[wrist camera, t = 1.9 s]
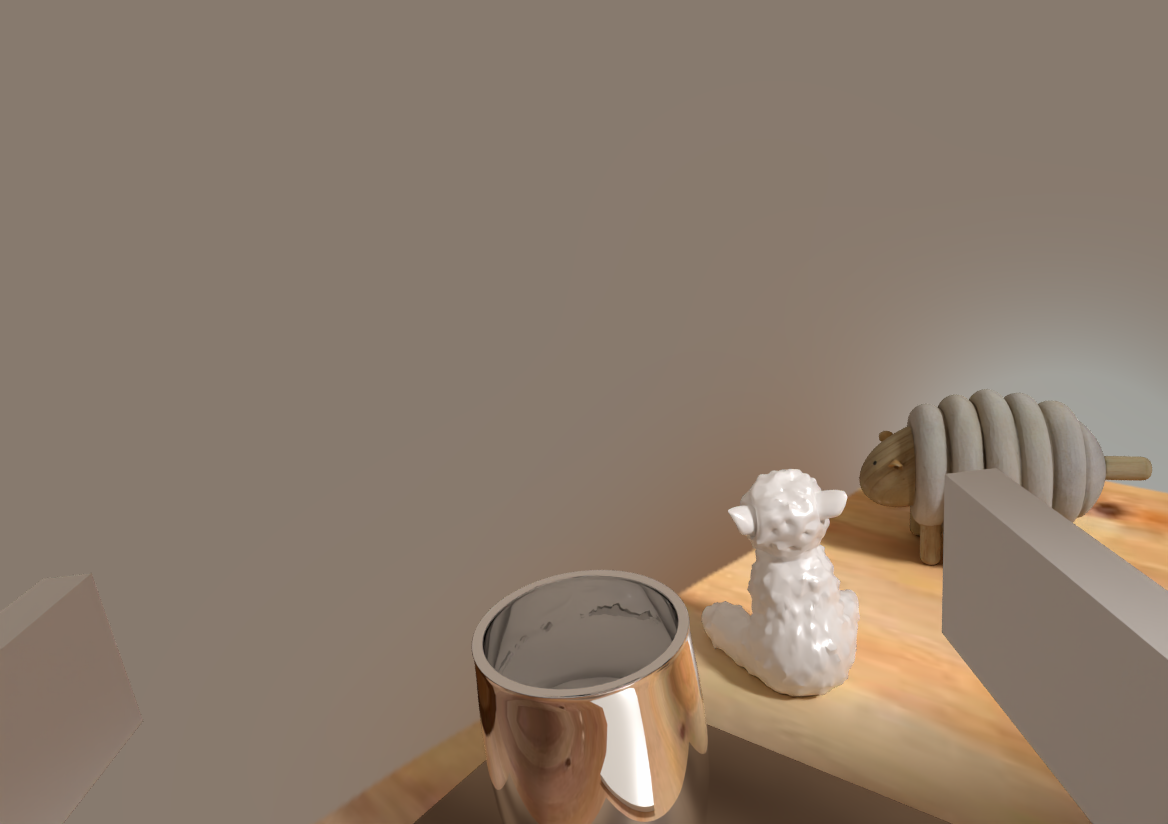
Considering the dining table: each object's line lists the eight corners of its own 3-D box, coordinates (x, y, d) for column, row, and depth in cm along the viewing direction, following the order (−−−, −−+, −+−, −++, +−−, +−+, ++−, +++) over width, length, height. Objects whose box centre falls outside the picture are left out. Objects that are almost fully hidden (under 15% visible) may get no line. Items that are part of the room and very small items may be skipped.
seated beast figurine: (854, 609, 48) (849, 426, 45) (914, 701, 40) (914, 485, 36) (701, 629, 48) (684, 448, 45) (730, 724, 40) (712, 511, 36)
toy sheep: (852, 518, 59) (848, 378, 56) (1101, 511, 56) (1113, 361, 52) (872, 592, 50) (869, 428, 46) (1176, 590, 46) (1197, 411, 43)
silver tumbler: (654, 1151, 23) (592, 737, 19) (496, 1008, 28) (416, 648, 23) (769, 965, 28) (741, 599, 24) (618, 869, 33) (571, 548, 28)
